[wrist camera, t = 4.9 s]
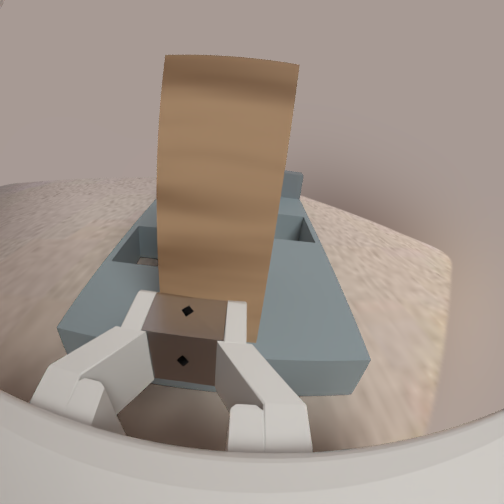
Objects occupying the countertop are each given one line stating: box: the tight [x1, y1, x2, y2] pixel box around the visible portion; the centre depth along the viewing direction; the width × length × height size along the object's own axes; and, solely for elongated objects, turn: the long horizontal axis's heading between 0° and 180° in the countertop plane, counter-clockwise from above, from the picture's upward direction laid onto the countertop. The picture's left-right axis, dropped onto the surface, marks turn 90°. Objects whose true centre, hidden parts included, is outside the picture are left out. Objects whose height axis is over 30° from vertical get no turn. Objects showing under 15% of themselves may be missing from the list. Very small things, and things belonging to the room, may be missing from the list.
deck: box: [57, 171, 371, 396], centre depth 25 cm, size 26×16×6 cm, turn 0°
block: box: [157, 55, 299, 343], centre depth 14 cm, size 8×4×12 cm, turn 0°
